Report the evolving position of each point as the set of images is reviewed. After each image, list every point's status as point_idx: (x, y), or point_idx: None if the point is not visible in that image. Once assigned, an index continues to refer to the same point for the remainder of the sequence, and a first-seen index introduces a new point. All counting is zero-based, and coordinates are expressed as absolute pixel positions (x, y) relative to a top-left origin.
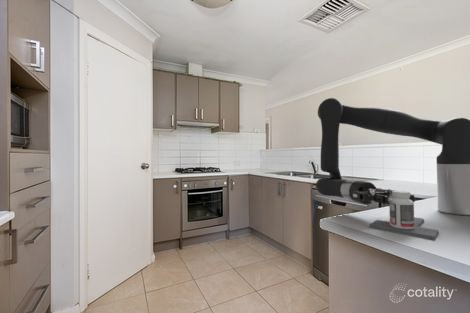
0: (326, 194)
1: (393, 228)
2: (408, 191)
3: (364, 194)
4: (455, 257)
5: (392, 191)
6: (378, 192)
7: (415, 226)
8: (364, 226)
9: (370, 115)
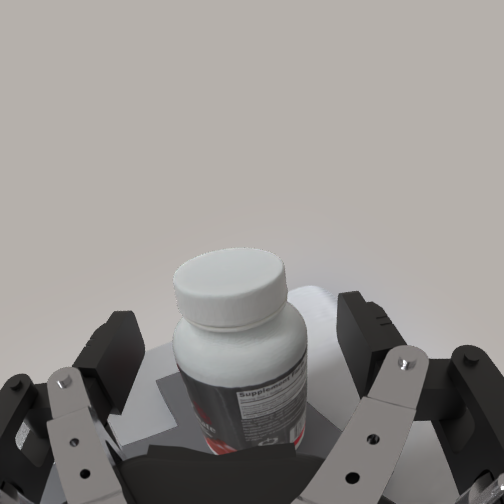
0: None
1: (313, 417)
2: (184, 263)
3: (480, 356)
4: (304, 292)
5: (277, 278)
6: (260, 459)
7: (184, 426)
8: (407, 489)
9: None
